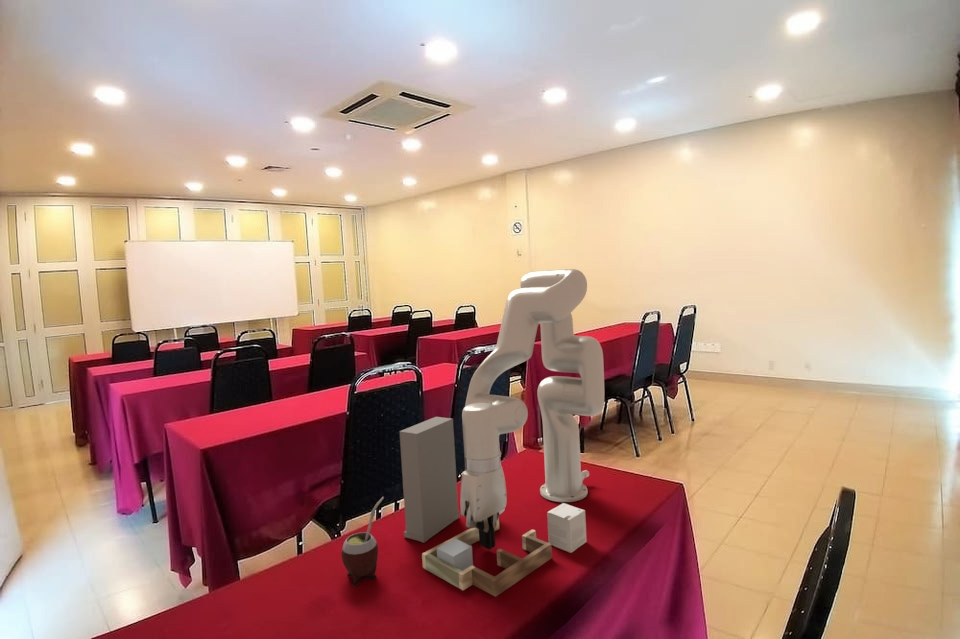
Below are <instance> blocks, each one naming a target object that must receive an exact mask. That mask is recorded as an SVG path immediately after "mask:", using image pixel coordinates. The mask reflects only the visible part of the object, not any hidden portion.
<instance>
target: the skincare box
mask: <svg viewBox="0 0 960 639" xmlns="http://www.w3.org/2000/svg"><path fill="white" fill-rule="evenodd" d="M546 513H547V514H546V516H547V535H548V536H547V537H548V540H547V541H548V542H547V543H550V544H551V547H552V546H553V547H555V548H557V549H560V550H562V551H566V552H568V553H570V554H571V553H573V552H575V551H576V550H577V549H578V548H580V547H582V546H583V545H584V544H586V543H587V522H586V521H587V520H586V510H585V509H582V508H579V507H576V506H573V505H570V504H568V503H566V502H561V504H559V505H558V506H556V507H554V508H552V509H550V510H549V511H547V512H546Z"/></svg>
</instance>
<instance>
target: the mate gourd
mask: <svg viewBox="0 0 960 639" xmlns="http://www.w3.org/2000/svg"><path fill="white" fill-rule="evenodd" d="M384 499H385V496H382V497H381V498H380V499H379V500H378V501H377V502H376V504H375V505H374V507H373V508H372V510H371V512H370V516H369V522H368V526H367V530H366V532H357V533H354V534H351V535H349V536H348V537H347V538H346V539H345V540H344V542H343V546H342V548H341V549H342V550H341V560H342V564H343V566H344V568H345V570H346V571H347V572H348V573H346V575H347V578H352V580H353V582H352V587H357V586H358V585H359V584H360V583H361V581H362V580H373V581H375V580H376V579H377V578H378V577H377V575H376V571H377V566H378V565H377V562H378V555H379V545H378V543H377V540H376V539H375V537H374V536H373V535H372V534H371V533H370V532H371V529H372V524H373V519H374V517H375V514H376V510H377V508H378V506H379V505H380V504H381V503H382V501H383V500H384ZM358 583H359V584H358Z"/></svg>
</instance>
